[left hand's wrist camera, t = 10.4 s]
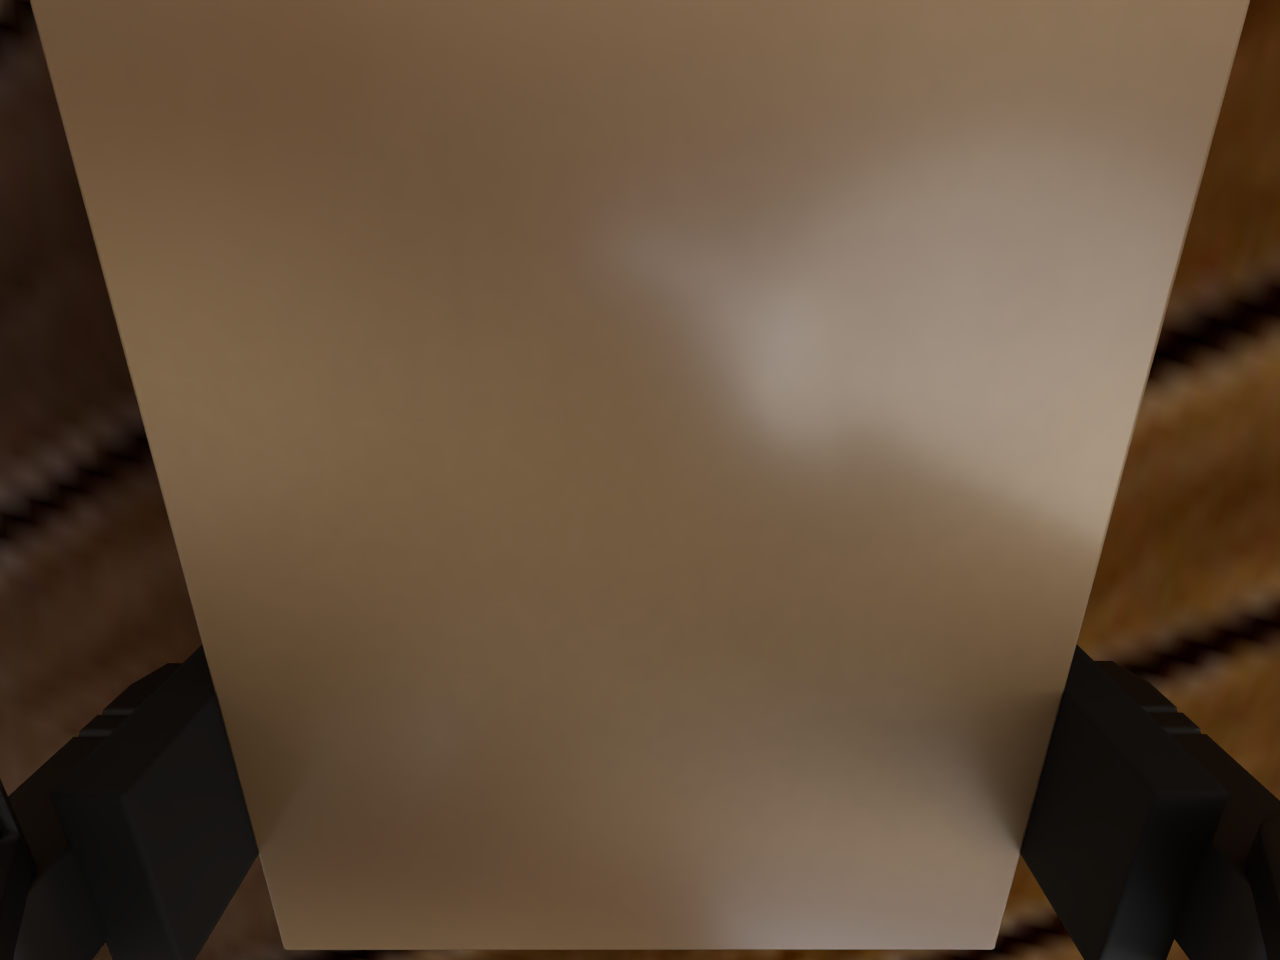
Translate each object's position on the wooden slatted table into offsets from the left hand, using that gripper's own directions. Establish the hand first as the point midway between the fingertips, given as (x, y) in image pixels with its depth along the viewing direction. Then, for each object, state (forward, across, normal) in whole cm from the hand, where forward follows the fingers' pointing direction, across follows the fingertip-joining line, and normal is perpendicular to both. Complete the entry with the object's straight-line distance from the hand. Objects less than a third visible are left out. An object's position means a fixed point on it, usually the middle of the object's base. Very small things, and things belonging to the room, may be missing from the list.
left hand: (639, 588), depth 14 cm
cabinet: (+4, 0, -8) cm, 8 cm away
